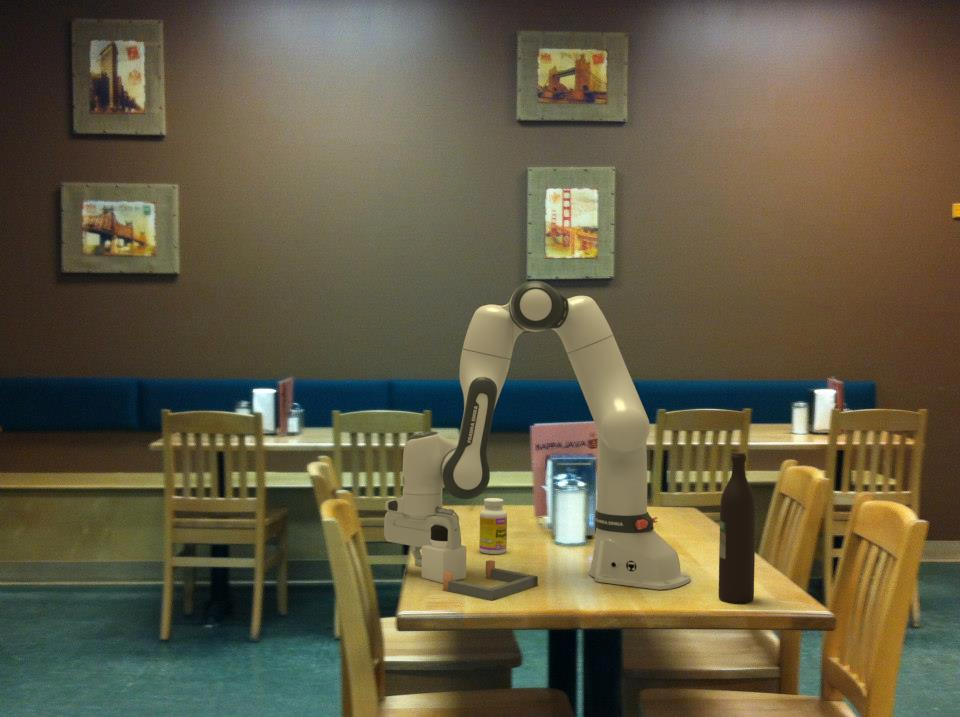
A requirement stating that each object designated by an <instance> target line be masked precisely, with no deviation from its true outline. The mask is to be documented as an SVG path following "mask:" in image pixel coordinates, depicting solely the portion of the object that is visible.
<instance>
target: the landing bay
mask: <svg viewBox="0 0 960 717" xmlns="http://www.w3.org/2000/svg"><path fill="white" fill-rule="evenodd" d="M485 578H486V579H491V580H492V579H493V580H497V581H502V582H506V583H503V584H500V585H497V586H493V587H486V586H484V585H483V586H482V585H478V584H474V583H468V582H462V581H460V580H456V581H454V580H453V573H451V572H445V573H443V583H442V590H443V591H445V592H450V593H455V594H460V595H465V596H469V597H475V598H478V599H482V600H483V599H484V600H489V601H495V600H499V599H501V598H504V597H508V596H511V595H513V594H516V593H520V592H523V591H526V590H529V589H531V588H535V587H538V586H539V576H537V575H533V574H528V573H523V572H517V571H513V570H507V569H502V568H496V561H495V560H485Z"/></svg>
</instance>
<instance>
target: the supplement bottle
mask: <svg viewBox="0 0 960 717" xmlns="http://www.w3.org/2000/svg"><path fill="white" fill-rule="evenodd" d="M483 502H484V503H483V504H484V508H483V509H482V510H481V511H480V512H479V541H478V542H479V547H478V548H479V551H480V553H483V554H487V555H500V554H505V553H506V552H507V547H508V543H507V542H508V541H507V540H508V537H507V535H508V534H507V532H508V531H507V530H508V512H507V511H506V510H505V509H503V506H504V499H503V498H497V497H487V498H484V499H483Z"/></svg>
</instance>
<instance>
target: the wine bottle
mask: <svg viewBox="0 0 960 717" xmlns="http://www.w3.org/2000/svg"><path fill="white" fill-rule="evenodd" d="M731 462H732V465H731V466H732V469H731V475H730V478H729V479H728V482H727V484H726V486H725V487H724V490H723V491H722V494H721V498H720V503H719V504H720V505H719V508H720V509H719V546H718V547H719V549H718V550H719V553H718V555H719V556H718V557H719V558H718V598H719V600H721V601H724V602H725V601H726V603H730V602H732V604H747V603H746V602H749V603H751V601H752V602H753V601H754V598H755V565H756V564H755V562H756V561H755V560H756V556H755V555H756V551H755V550H756V549H755V548H756V513H757V512H756V498H755V494H754V492H753V489H752V488H751V485H750V484H749V482H748V479H747V477H746V470H745V469H746V462H747V455H746V453H745V452H732V454H731Z"/></svg>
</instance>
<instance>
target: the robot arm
mask: <svg viewBox="0 0 960 717" xmlns="http://www.w3.org/2000/svg"><path fill="white" fill-rule="evenodd" d="M596 302H597V301H595V300H594V298H592V297H590V296H587V295H576V296H572V297H570V298H566V296H564V295H563V294H561V293H560V292H559V291H557V289H555V288H554V287H553V286H551V285H550V284H548V283H546V282H544V281H541V280H531V281H527V282H525V283H523V284H521V285H520V286H518V288H516V289H515V291H513V293H512V295H511V298H510V299H509V300H508V302H507V303H506V304H505V305H498V304H486V305H481V306H479V307H478V308H477V309H476V310H475V312H474V313H473V316H472V318H471V320H470V322H469V325H468V328H467V331H466V334H465V337H464V342H463V344H462V345H463V346H462V350H461V355H460V362H459V383H460V387H461V391H462V394H463V395H462V396H463V406H464V407H463V408H464V409H463V414H462V421H461V426H460V430H459V435H458V441H457V443H456V442H454V441H452V440H450V439H448V438H446V437H444V436H443V435H442V434H440V433H439V432H438V431H434V430H431V431H423V432H419V433H418V432H417V433H415V434H412V435H411V436H409V437H408V438H407V439H406V441H405V443H404V446H403V447H404V448H403V455H402V456H403V457H402V476H403V478H404V479H403V480H404V483H403V487H402V496H399V497H397V498H394V499H390V500H386V501H385V503H384V504H385V505H384V506H385V507H384V508H385V510H386V511H387V512H386V513H385V515H384V521H383V535H384V538H385V540H386V541H387V542H388V543H389V542H390V543H395V544H398V545H406V546H410V553H411V554H412V556H413V558H414V566H415V567H417V568H418V567H419V568H422V552H421V551H422V546H424V545H432V543H431V542H430V530H431V526H432V525H441V526H444V527H446V528H447V529H448V545H446V548H449V549H451V550H455V549H458V548H460V547H461V545H462V533H461V527H460V517H459V515H458V514H457V513H456V511H455V510H454V509H452V508H448V509H447V508H444V507H443V489H444V488H445V489H446V490H447V492H448V493H449V494H450V495H451V496H452V497H455V498H457V499H460V500H472V499H474V498H478V497H479V496H480V495H481V494H483V493H484V492H485V490H486V489H487V488H488V486H489V484H490V478H491V476H490V475H491V473H490V472H491V470H490V467H489V463H488V457H487V452H488V451H487V450H488V445H489V440H490V439H489V438H490V433H491V428H492V424H493V423H492V422H493V417H494V413H495V409H496V405H497V402H498V399H499V398H500V394H501V392H502V389H503V387H504V384H505V382H506V378H507V376H508V372H509V369H510V365H511V359H512V356H513V351H514V346H515V343H516V341H517V338H518V337H519V336H520V335H521V334H526V333H540V332H544V331H547V330H553V331H554V332H555V333H556V334H557V335H558V337H559V338H560V340H561V342H562V344H563V345H562V346H563V347H564V350H565V352H566V355H567V356H568V360H569V361H570V365H571V367H572V369H573V371H574V372H573V373H574V374H575V376H576V379H577V381H578V383H579V386H580V390H581V391H582V394H583V396H584V399H585V402H586V404H587V406H588V407H587V408H588V409H589V412H590V415H591V417H592V419H593V421H594V424H595V427H596V430H597V465H596V466H597V467H596V468H597V469H596V470H597V475H596V476H597V477H596V478H597V482H596V483H597V484H596V488H597V489H596V493H597V494H596V510H595V511H594V531H595V532H594V533H595V540H594V548H593V554H592V560H591V564H590V568H589V570H588V574H589V575H590V576H591V577H593V578H594V581H595V582H598V583H605V584H613V585H620V586H626V587H627V586H628V587H636V588H643V589H651V590H659V591H660V590H670V589H671V590H672V589H675V588H678V587H681V586H684V585H687V584H688V583H690V582H691V574H689V573H687V572H683V571H681V564H680V563H681V562H680V557H679V554H678V552H677V550H676V549H675V548H673V546H672V545H671V544H669V543H668V542H667V541H666V540H665V539H664V538H663V537H661V536H660V534H659V533H657V532H656V530H655V526H654V524H655V523H658V520H657V519H658V517H657V516H655V517H652V516H651V515H650V514H649V512H648V460H647V459H648V456H647V455H648V454H647V451H648V450H647V440H648V438H649V435H650V432H651V430H650V429H651V426H650V420H649V418H648V414H647V413H646V410H645V408H644V405H643V403H642V401H641V398H640V395H639V394H638V391H637V389H636V386H635V384H634V382H633V379H632V377H631V375H630V372H629V370H628V367H627V365H626V363H625V360H624V358H623V355H622V353H621V351H620V349H619V346H618V343H617V341H616V338H615V336H614V333H613V331H612V329H611V327H610V324H609V322H608V321H607V319H606V316H605V315H604V313H603V311H602V310H601V309H600V306H599V305H598V304H597V303H596ZM455 530H456V531H455Z"/></svg>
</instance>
